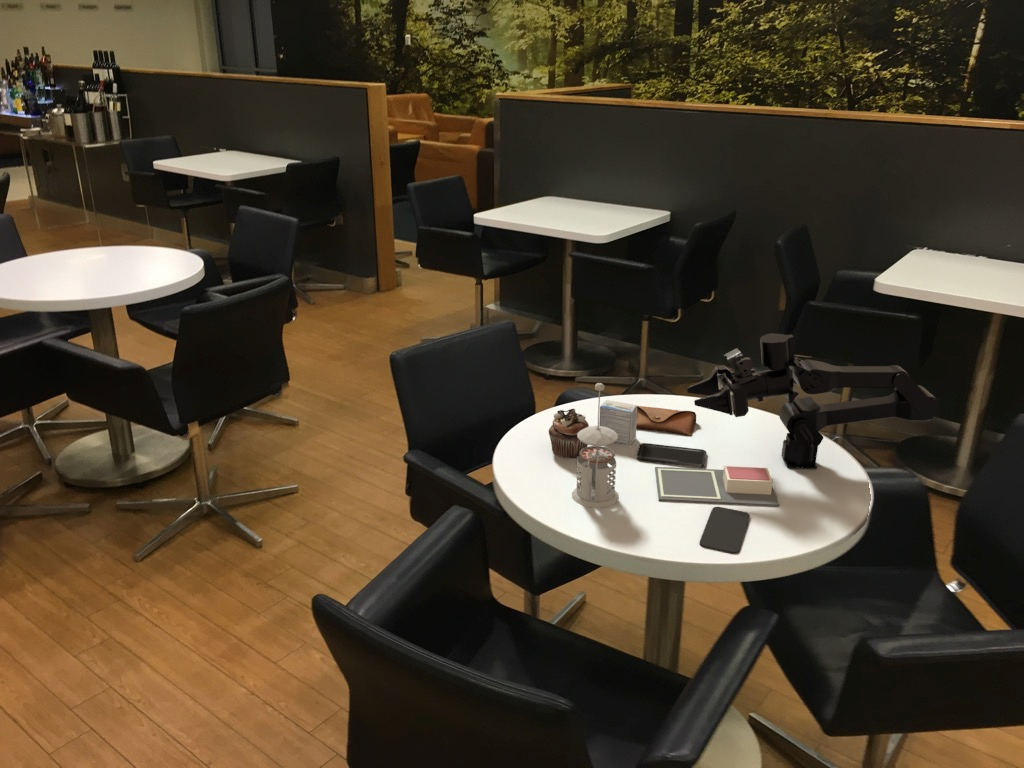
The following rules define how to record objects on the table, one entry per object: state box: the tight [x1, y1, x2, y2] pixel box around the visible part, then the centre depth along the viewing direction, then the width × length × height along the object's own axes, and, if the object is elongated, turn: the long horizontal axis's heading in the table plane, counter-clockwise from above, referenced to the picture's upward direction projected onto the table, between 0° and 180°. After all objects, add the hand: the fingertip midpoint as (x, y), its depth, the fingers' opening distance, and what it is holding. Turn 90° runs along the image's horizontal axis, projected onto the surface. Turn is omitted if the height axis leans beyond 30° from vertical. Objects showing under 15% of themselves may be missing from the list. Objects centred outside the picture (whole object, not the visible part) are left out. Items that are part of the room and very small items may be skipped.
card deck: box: [722, 465, 774, 495], centre depth 176 cm, size 9×6×3 cm, turn 84°
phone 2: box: [636, 442, 707, 469], centre depth 190 cm, size 8×1×15 cm
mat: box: [654, 466, 781, 507], centre depth 177 cm, size 24×14×1 cm, turn 84°
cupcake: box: [548, 408, 590, 459], centre depth 191 cm, size 10×10×10 cm
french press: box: [571, 382, 620, 509], centre depth 169 cm, size 10×12×25 cm
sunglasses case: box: [636, 405, 697, 437], centre depth 206 cm, size 18×7×7 cm, turn 75°
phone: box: [699, 506, 751, 555], centre depth 162 cm, size 7×1×15 cm
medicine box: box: [599, 399, 638, 446], centre depth 197 cm, size 8×4×9 cm, turn 65°
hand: (690, 396), depth 182 cm, fingers open, 9 cm apart
